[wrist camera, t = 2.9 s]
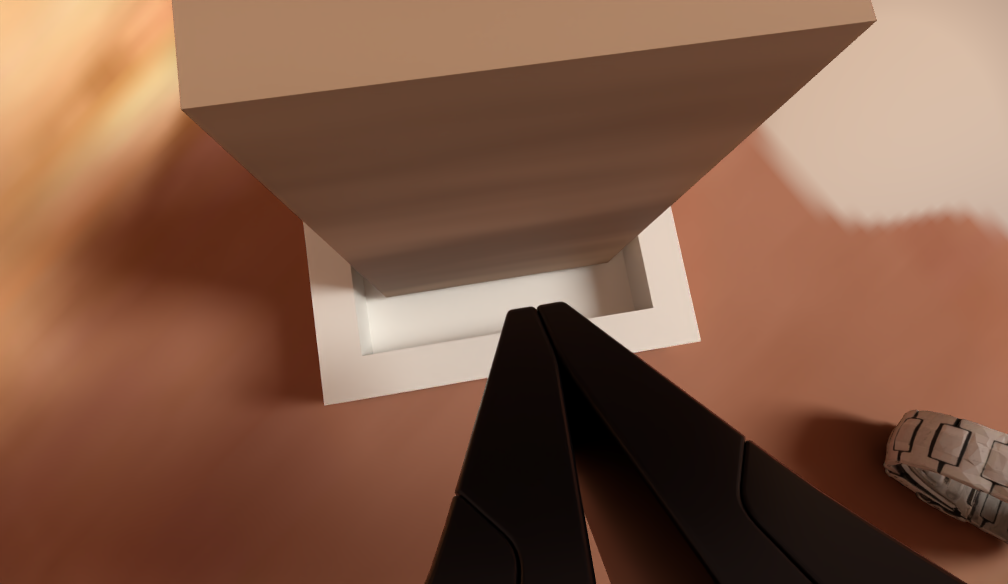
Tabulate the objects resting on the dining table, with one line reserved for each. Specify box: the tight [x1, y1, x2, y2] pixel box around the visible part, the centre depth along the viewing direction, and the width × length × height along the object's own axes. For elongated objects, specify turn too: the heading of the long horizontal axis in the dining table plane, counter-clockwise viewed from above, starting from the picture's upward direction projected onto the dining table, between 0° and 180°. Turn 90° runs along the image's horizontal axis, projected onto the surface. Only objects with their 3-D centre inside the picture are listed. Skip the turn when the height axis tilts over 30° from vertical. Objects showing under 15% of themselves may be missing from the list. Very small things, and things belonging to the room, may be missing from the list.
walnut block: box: [172, 0, 877, 298], centre depth 10 cm, size 4×6×10 cm, turn 100°
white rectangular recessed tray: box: [303, 206, 701, 406], centre depth 15 cm, size 17×9×2 cm, turn 10°
